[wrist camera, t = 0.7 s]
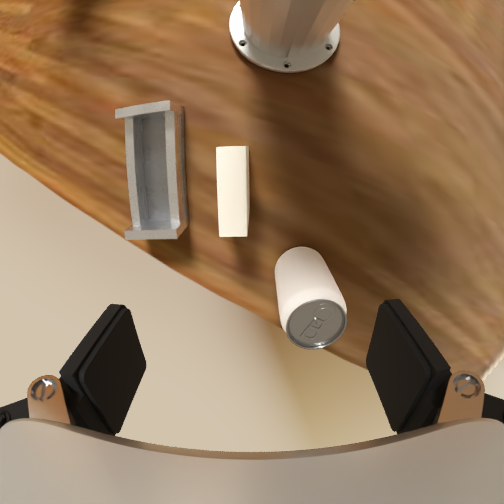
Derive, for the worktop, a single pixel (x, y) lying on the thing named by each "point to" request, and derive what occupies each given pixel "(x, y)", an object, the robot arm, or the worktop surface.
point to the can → (309, 299)
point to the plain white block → (233, 190)
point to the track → (156, 170)
